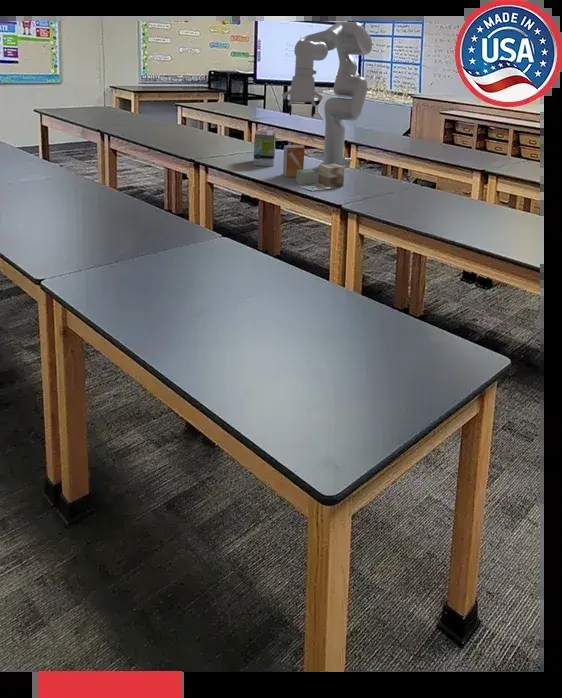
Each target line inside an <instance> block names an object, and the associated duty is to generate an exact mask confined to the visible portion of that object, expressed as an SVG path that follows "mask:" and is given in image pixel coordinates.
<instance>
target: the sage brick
mask: <svg viewBox="0 0 562 698" xmlns="http://www.w3.org/2000/svg"><path fill="white" fill-rule="evenodd" d="M295 180H296V182H297V181H298V183H299V182H300V184H301V183H302V184H301V185H306V184H305V183H310V184H315V183H316V171H315V170H312V169H309V168H306V169H305V168H303V170H297V176H296V177H295Z"/></svg>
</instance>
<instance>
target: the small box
mask: <svg viewBox="0 0 562 698" xmlns="http://www.w3.org/2000/svg"><path fill="white" fill-rule="evenodd" d="M282 164H283V167H282V174H283V176H285V177H286V178H291V177H292V178H294V177H295V178H296V176H297V170H303V169H304V164H305V147H304V146H303V145H301V144H298V145H297V144H294V145H293V144H291V145H290V144H288V145H287V144H286V145H284V146H283V163H282Z"/></svg>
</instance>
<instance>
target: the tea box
mask: <svg viewBox="0 0 562 698" xmlns="http://www.w3.org/2000/svg"><path fill="white" fill-rule="evenodd" d="M276 133H277V132H276V131H275V130H258V129H257V130H255V133H254V137H253V138H254V140H253V166H256V165H262V166H261V167H274V163H275V155H276Z"/></svg>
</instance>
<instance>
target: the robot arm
mask: <svg viewBox="0 0 562 698" xmlns="http://www.w3.org/2000/svg"><path fill="white" fill-rule="evenodd" d="M335 49H336V51H337V57H338V62H339V66H338V69H337V74H336V77H335V81H334V85H333V93H334V95H335V96H337V97H330V98H327V100H326V101H325V102H324V118H325V119H324V120H325V127H324V128H325V129H324V146H323V161H322V162H320V163H319V165H321V164H337V165H340V166H343V167H345V168H346V167H347V166H346V165H347V164H346V163H351V162H352V161H353V160H352V158H351V157H345V156H344V150H345V138H346V137H345V136H346V135H345V134H346V127H345V124H344V122H343V121H351V122H353V121H354V122H355V121H357V120H358V119H359V118H360V116H361V115H362V114H361V113H362V110H363V106H364V103H365V101H366V96H367V93H368V82H367V79H366V78H365V77H363V76H359V75H358V76H357V71H358V65H357V63H356V60H355V59H354V57H353V55H354V56H367V55H369V54H370V53H371V51H372V49H373V40H372V37H371V35H370V34H369V33H368V31H367V30H366V29H365V27H364V26H363V25H362V24H361V23H359V22H357V21H353V22H352V21H338V22H336V23H334V24H333V25H331V26H330V27H328V28H327V29H326V30H323V31H318V32H315V33H311V34H307V35H306V36H303V37H302V38H300V39H299V40H298V41H297V42H296V43H295V45H294V56H295V66H294V67H295V68H294V75H293V76H292V79H291V84H290V90H287V91H285V92H284V93H282V98H283V101H284V102H285V103H286V104H287V114H288V116H292V111H293V110H292V108H293V106H292V104H293V103H294V102H303V103H304V102H305V103H311V105H312V106H311V113H310V115H311V118H312V117H313V118H314V115H316V107H317V106H318V105H319V104H320V103H321V101H322V99H323V98H324V97H323V95H322V94H319V93H318V92H317V91H316V89H315V87H316V86H315V77H314V75H317V70H314V61H315V62H317V61H319V62H320V61H324V60H325V59H326V58H327V56H328V54H329V51H334V50H335ZM288 95H290V96H289V97H290V99H289V100H288V99H287V96H288ZM315 96H316V97H317V100H316V101H315Z"/></svg>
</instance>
